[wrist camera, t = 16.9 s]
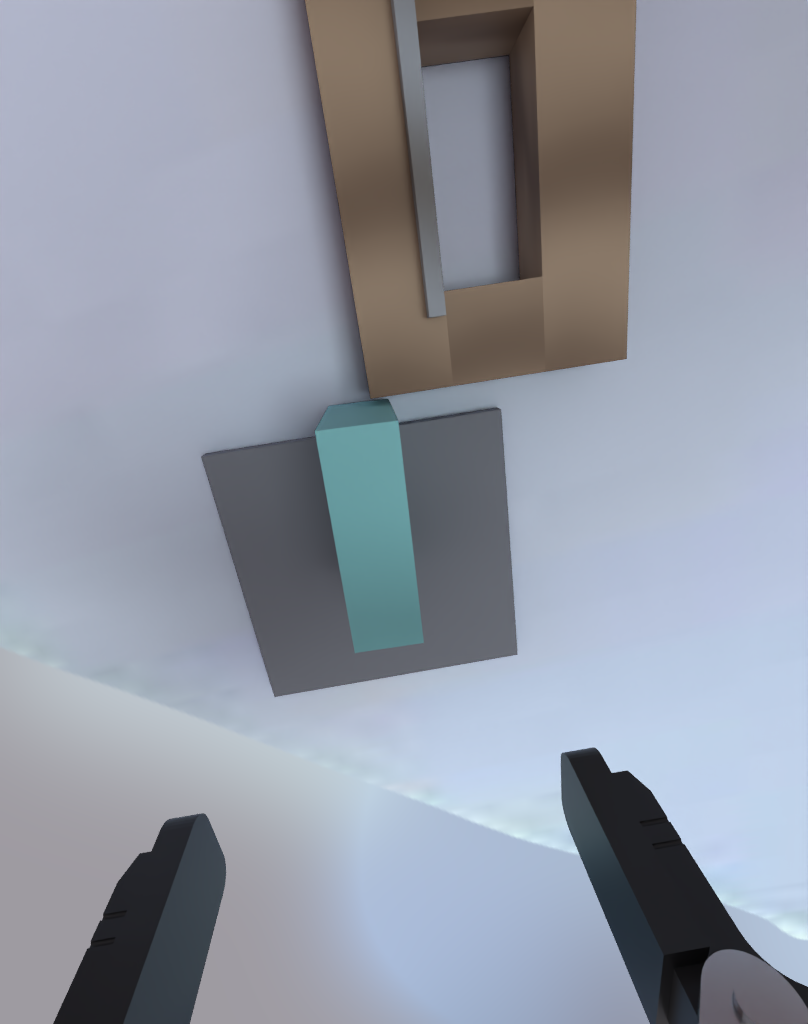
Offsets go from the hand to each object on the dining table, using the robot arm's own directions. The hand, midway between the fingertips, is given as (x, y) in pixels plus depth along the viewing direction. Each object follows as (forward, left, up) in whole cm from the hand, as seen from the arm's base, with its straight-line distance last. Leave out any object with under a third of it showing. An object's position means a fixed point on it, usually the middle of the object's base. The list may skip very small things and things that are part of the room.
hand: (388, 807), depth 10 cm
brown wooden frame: (-15, +6, -13) cm, 21 cm away
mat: (0, 0, -13) cm, 13 cm away
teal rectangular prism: (+1, 0, -9) cm, 9 cm away
